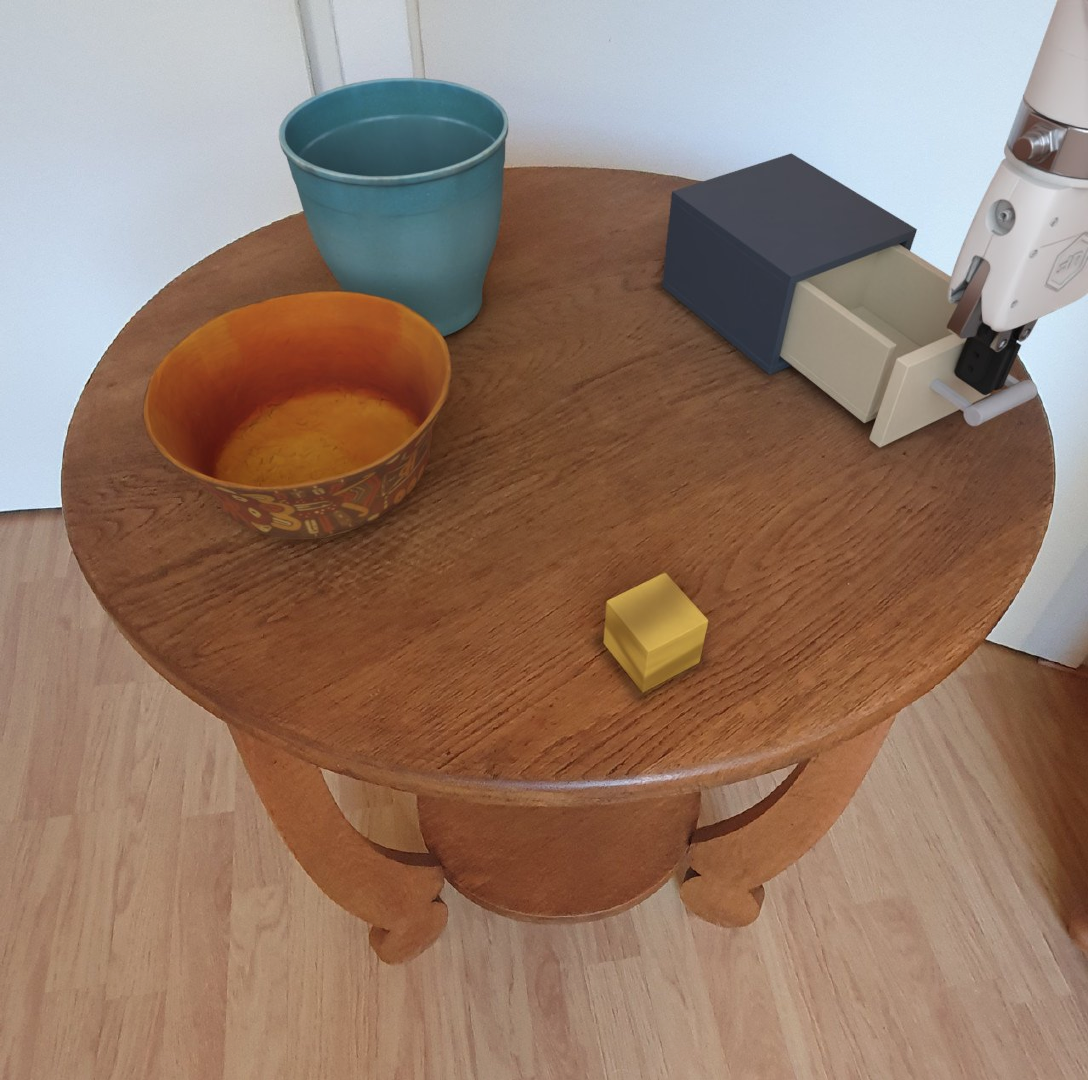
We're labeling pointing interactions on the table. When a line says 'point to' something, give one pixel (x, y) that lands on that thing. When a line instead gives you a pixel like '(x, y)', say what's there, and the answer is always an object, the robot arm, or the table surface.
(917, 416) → the drawer
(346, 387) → the bowl
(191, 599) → the table surface
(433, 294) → the flower pot
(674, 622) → the block
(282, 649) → the table surface
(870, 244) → the cabinet
